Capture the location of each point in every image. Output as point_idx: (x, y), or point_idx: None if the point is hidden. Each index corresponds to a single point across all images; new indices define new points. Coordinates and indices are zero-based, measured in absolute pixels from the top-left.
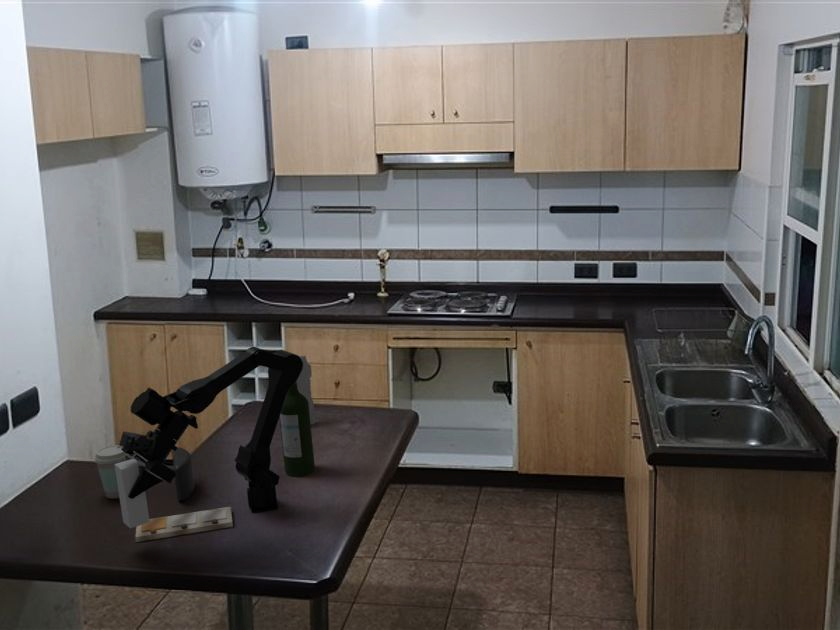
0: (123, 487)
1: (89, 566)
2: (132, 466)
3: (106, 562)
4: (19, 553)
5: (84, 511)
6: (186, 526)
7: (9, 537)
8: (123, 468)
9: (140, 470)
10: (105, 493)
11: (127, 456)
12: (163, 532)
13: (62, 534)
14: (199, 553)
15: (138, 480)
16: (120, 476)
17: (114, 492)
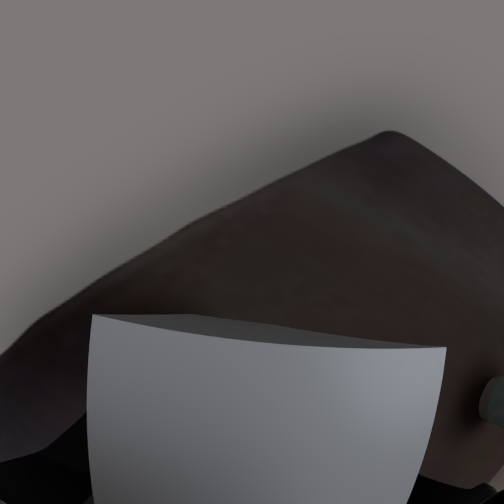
0: (178, 317)
1: (232, 202)
2: (98, 497)
3: (217, 240)
4: (404, 149)
5: (482, 322)
6: None
7: (465, 177)
8: (120, 376)
9: (26, 480)
10: (500, 376)
11: (481, 500)
12: None
13: (432, 243)
14: (77, 415)
15: (85, 425)
16: (215, 327)
17: (491, 391)
